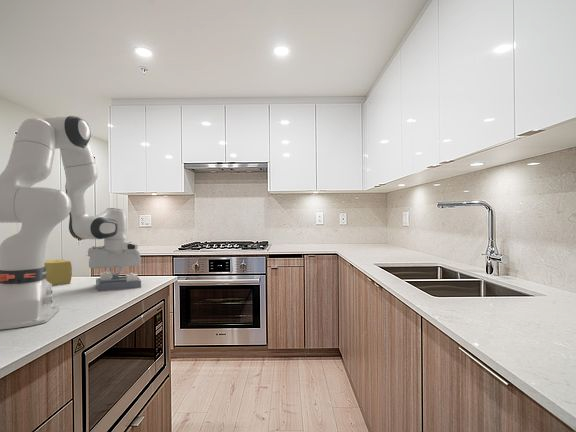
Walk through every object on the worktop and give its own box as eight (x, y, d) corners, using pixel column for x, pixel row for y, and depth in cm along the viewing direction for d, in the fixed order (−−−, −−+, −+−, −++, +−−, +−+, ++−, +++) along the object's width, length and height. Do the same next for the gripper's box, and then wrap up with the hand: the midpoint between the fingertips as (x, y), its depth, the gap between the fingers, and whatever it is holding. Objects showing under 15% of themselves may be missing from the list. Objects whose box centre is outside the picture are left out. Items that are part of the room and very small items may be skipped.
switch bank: (141, 287, 147) (141, 280, 147) (97, 291, 139) (97, 284, 139) (136, 281, 159) (136, 275, 159) (96, 284, 151) (96, 278, 151)
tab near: (137, 283, 148) (137, 273, 148) (126, 284, 146) (127, 274, 146) (136, 281, 151) (136, 272, 151) (125, 282, 149) (126, 272, 149)
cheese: (36, 283, 153) (36, 260, 153) (64, 280, 161) (64, 258, 161) (43, 287, 146) (43, 263, 146) (72, 283, 154) (72, 260, 154)
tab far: (111, 281, 150) (111, 272, 150) (100, 282, 148) (100, 272, 148) (110, 280, 153) (110, 271, 153) (100, 281, 151) (100, 271, 151)
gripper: (88, 247, 144) (87, 280, 144) (141, 245, 154) (141, 276, 155) (87, 245, 149) (87, 278, 149) (139, 244, 160) (139, 274, 160)
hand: (115, 277), depth 152 cm, fingers closed
